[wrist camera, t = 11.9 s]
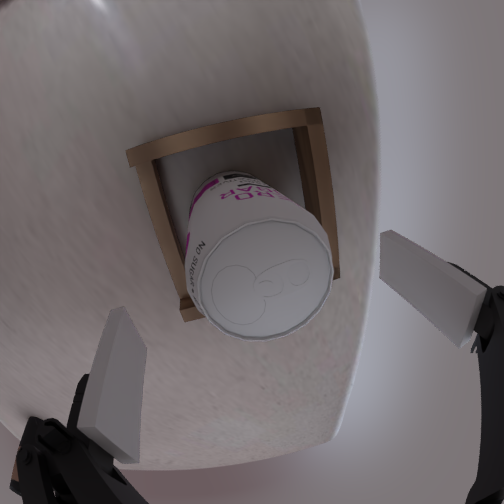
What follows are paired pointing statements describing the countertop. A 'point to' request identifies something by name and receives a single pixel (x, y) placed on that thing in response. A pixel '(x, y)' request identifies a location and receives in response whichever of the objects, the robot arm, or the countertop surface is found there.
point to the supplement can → (255, 259)
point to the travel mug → (26, 439)
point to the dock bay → (301, 121)
